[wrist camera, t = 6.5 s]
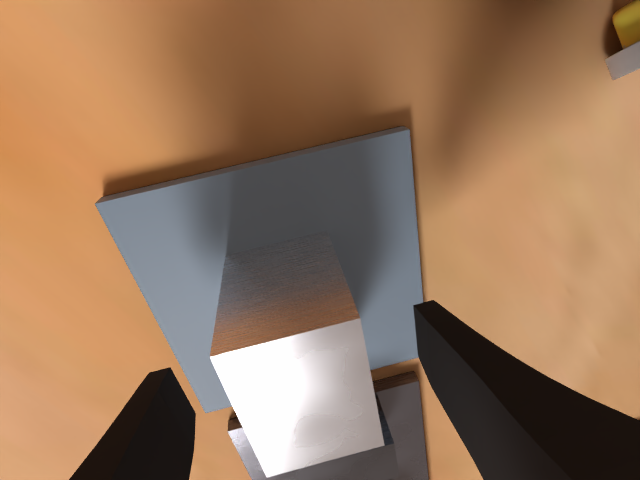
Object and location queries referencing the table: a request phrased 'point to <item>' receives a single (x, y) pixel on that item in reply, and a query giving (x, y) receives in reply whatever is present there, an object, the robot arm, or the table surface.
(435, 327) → the robot arm
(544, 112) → the table surface
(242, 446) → the vise
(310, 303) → the steel block
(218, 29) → the table surface
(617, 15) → the reed diffuser
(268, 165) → the pad
